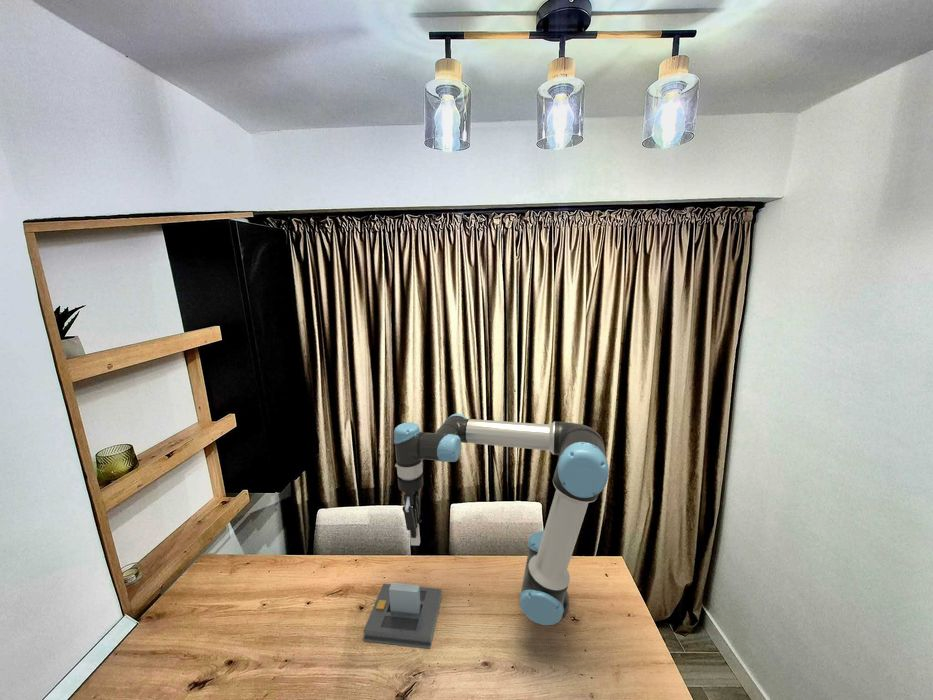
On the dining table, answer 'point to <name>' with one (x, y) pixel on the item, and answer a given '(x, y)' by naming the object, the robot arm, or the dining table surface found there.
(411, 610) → the panel
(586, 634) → the dining table surface
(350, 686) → the dining table surface
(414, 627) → the panel
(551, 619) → the robot arm
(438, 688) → the dining table surface
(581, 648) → the dining table surface
